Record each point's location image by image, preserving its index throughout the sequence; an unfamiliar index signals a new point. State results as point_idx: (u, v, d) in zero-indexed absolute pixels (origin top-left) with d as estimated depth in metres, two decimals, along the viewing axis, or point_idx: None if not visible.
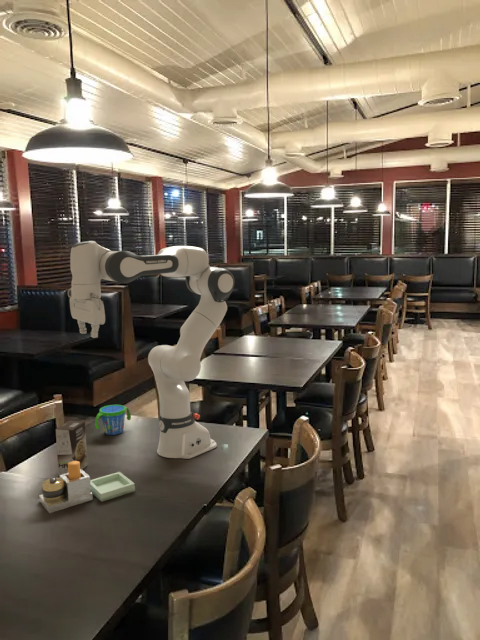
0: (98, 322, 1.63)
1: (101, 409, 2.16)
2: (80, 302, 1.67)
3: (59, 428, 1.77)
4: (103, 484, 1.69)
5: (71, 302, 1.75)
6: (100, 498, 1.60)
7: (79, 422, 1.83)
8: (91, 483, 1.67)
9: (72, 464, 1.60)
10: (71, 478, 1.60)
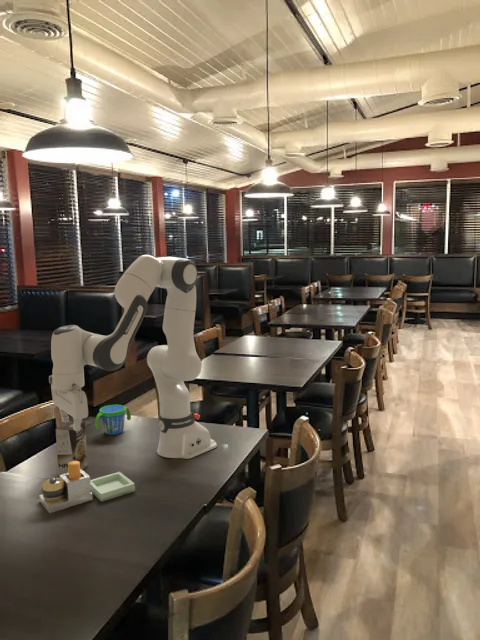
0: (80, 417, 1.50)
1: (101, 409, 2.16)
2: (61, 392, 1.55)
3: (59, 428, 1.77)
4: (103, 484, 1.69)
5: (53, 388, 1.63)
6: (100, 498, 1.60)
7: None
8: (91, 483, 1.67)
9: (72, 464, 1.60)
10: (71, 478, 1.60)
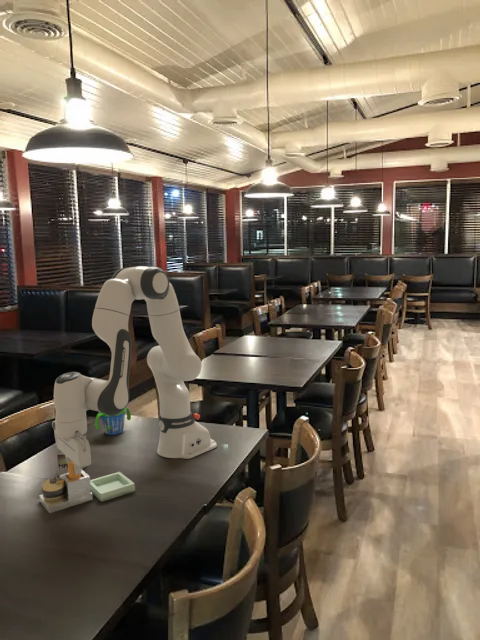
0: (83, 465, 1.52)
1: None
2: (65, 439, 1.57)
3: None
4: (103, 484, 1.69)
5: (56, 433, 1.65)
6: (100, 498, 1.60)
7: None
8: (91, 483, 1.67)
9: (72, 464, 1.60)
10: (71, 478, 1.60)
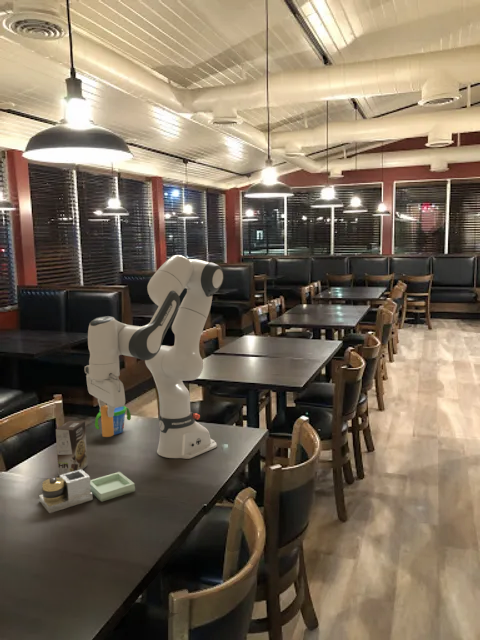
0: (118, 405, 1.55)
1: None
2: (98, 382, 1.59)
3: (59, 428, 1.77)
4: (103, 484, 1.69)
5: (88, 378, 1.67)
6: (100, 498, 1.60)
7: (79, 422, 1.83)
8: (91, 483, 1.67)
9: (105, 408, 1.62)
10: (104, 421, 1.62)
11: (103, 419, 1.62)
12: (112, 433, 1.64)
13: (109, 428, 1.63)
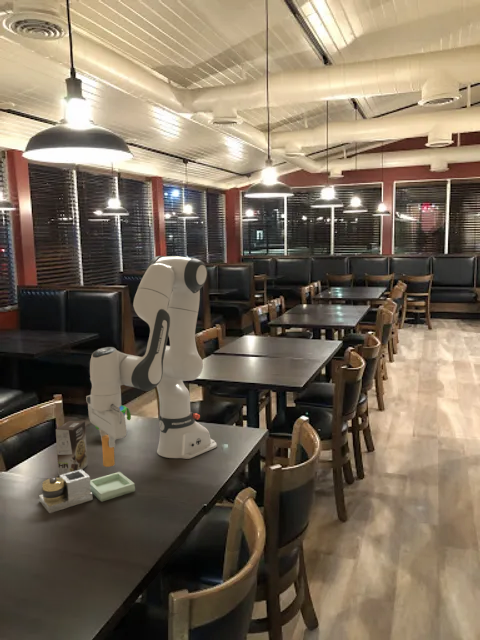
0: (119, 436, 1.56)
1: None
2: (100, 412, 1.61)
3: (59, 428, 1.77)
4: (103, 484, 1.69)
5: (90, 407, 1.69)
6: (100, 498, 1.60)
7: (79, 422, 1.83)
8: (91, 483, 1.67)
9: (106, 438, 1.64)
10: (105, 451, 1.64)
11: (104, 449, 1.64)
12: (113, 463, 1.65)
13: (110, 458, 1.64)
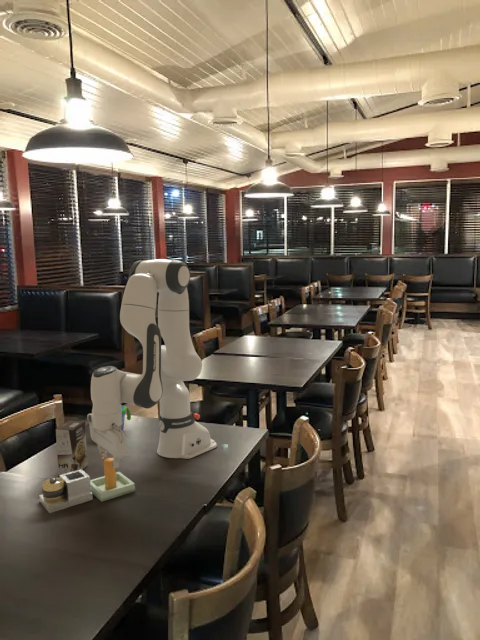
0: (120, 456, 1.57)
1: None
2: (101, 431, 1.62)
3: (59, 428, 1.77)
4: (103, 484, 1.69)
5: (91, 425, 1.70)
6: (100, 498, 1.60)
7: (79, 422, 1.83)
8: (91, 483, 1.67)
9: (108, 461, 1.65)
10: (107, 474, 1.65)
11: (106, 472, 1.65)
12: (115, 486, 1.67)
13: (112, 481, 1.65)
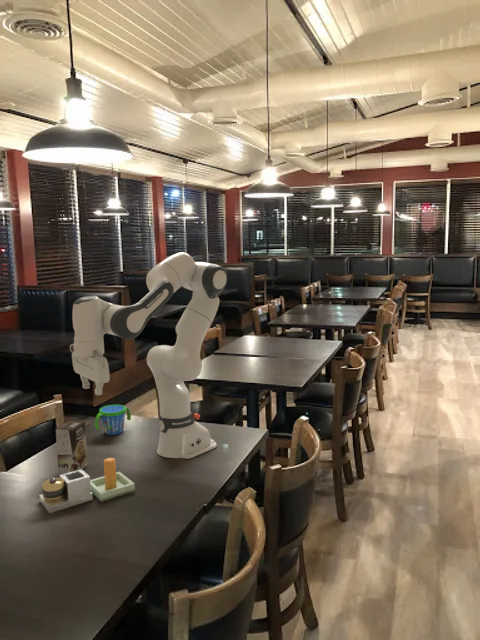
0: (103, 381, 1.59)
1: (101, 409, 2.16)
2: (83, 359, 1.64)
3: (59, 428, 1.77)
4: (103, 484, 1.69)
5: (73, 357, 1.71)
6: (100, 498, 1.60)
7: (79, 422, 1.83)
8: (91, 483, 1.67)
9: (108, 461, 1.65)
10: (107, 474, 1.65)
11: (106, 472, 1.65)
12: (115, 486, 1.67)
13: (112, 481, 1.65)
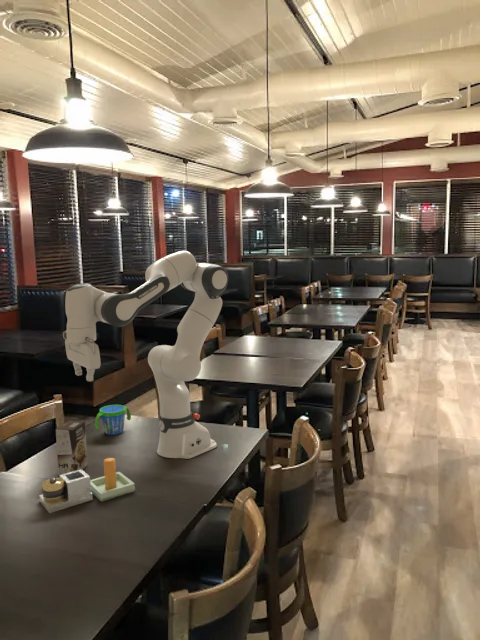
0: (93, 367, 1.62)
1: (101, 409, 2.16)
2: (75, 345, 1.66)
3: (59, 428, 1.77)
4: (103, 484, 1.69)
5: (66, 344, 1.74)
6: (100, 498, 1.60)
7: (79, 422, 1.83)
8: (91, 483, 1.67)
9: (108, 461, 1.65)
10: (107, 474, 1.65)
11: (106, 472, 1.65)
12: (115, 486, 1.67)
13: (112, 481, 1.65)
